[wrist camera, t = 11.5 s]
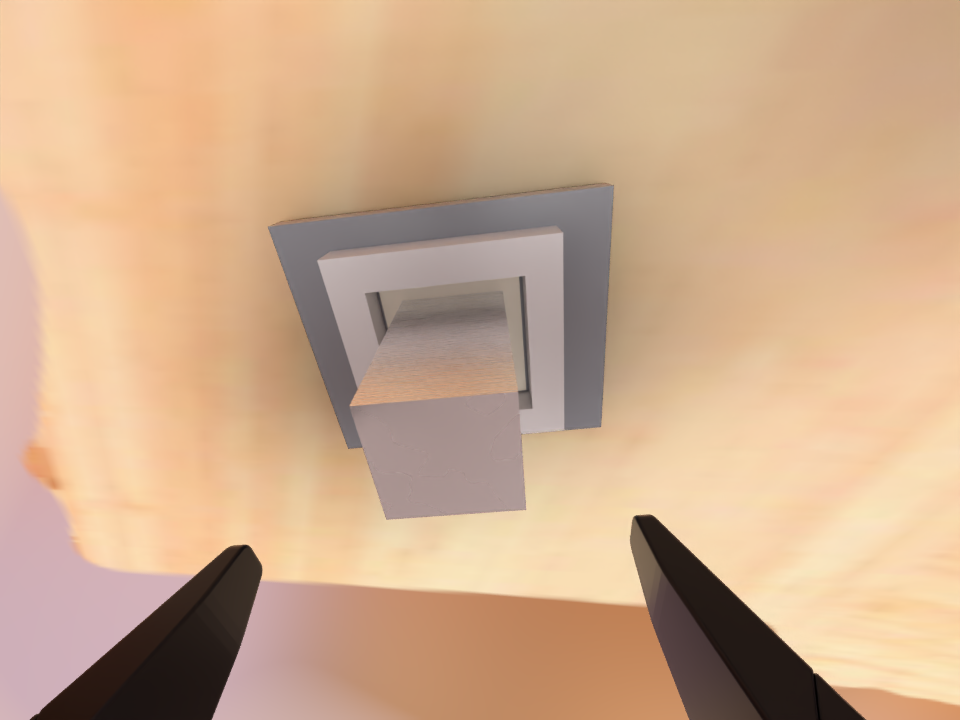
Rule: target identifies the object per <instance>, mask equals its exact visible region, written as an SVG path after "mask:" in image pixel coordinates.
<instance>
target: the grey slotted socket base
mask: <svg viewBox="0 0 960 720" xmlns="http://www.w3.org/2000/svg"><path fill="white" fill-rule="evenodd" d="M613 190H614V185H610V184H607V183H600V184H592V185H584V186H575V187H567V188H559V189H550V190H542V191H533V192H525V193H517V194H508V195H500V196H492V197H483V198H475V199H467V200H458V201H450V202H441V203H433V204H425V205H416V206H408V207H400V208H391V209H383V210H374V211H366V212H358V213H349V214H341V215H333V216H324V217H316V218H308V219H299V220H291V221H282V222H279V223H276V224H274V225H271V226H268V229H269V231H270V234H271V237H272V240H273V242H274V245H275V248H276V251H277V253H278V256H279V259H280V262H281V265H282V267H283V270H284V273H285V276H286V278H287V281H288V284H289V287H290V289H291V292H292V295H293V298H294V300H295V303H296V306H297V309H298V311H299V314H300V317H301V320H302V322H303V325H304V328H305V331H306V333H307V336H308V339H309V342H310V344H311V347H312V350H313V353H314V356H315V358H316V361H317V364H318V367H319V369H320V372H321V375H322V378H323V380H324V383H325V386H326V389H327V391H328V394H329V397H330V400H331V402H332V405H333V408H334V411H335V413H336V416H337V419H338V422H339V424H340V427H341V430H342V433H343V435H344V438H345V441H346V444H347V447H348V449H350V448H362V444H361V441H360V438H359V435H358V432H357V429H356V426H355V423H354V420H353V417H352V414H351V410H350V407H349V406H350V404H351V402H352V400H353V398H354V396H355V394H356V392H357V390H358V388H359V386H360V384H361V382H362V380H363V378H364V376H365V374H366V372H367V370H368V368H369V366H370V364H371V362H372V360H373V358H374V356H375V354H376V352H377V350H378V348H379V346H380V344H381V342H382V340H383V338H384V336H385V334H386V332H387V330H388V328H389V326H390V324H391V322H392V320H393V318H394V316H395V314H396V312H397V310H398V308H399V306H400V304H401V302H402V301H404V300H414V299H424V298H434V297H444V296H454V295H464V294H474V293H484V292H494V291H503V296H504V303H505V309H506V316H507V322H508V329H509V335H510V342H511V348H512V355H513V361H514V368H515V374H516V381H517V387H518V397H519V411H520V426H521V434H529V433H541V432H552V431H564V430H572V429H584V428H596V427H601V419H602V400H603V381H604V362H605V343H606V324H607V305H608V286H609V266H610V247H611V228H612V209H613Z"/></svg>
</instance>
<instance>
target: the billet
mask: <svg viewBox="0 0 960 720" xmlns="http://www.w3.org/2000/svg"><path fill="white" fill-rule="evenodd" d="M349 407H350V410H351V414H352V417H353V420H354V423H355V426H356V429H357V432H358V435H359V438H360V441H361V444H362V447H363V450H364V453H365V456H366V459H367V462H368V465H369V468H370V471H371V474H372V477H373V480H374V483H375V486H376V489H377V492H378V495H379V498H380V501H381V504H382V507H383V511H384V514H385V517H386V520H388V519H402V518H416V517H430V516H444V515H459V514H473V513H487V512H501V511H515V510H526V500H525V485H524V470H523V456H522V441H521V426H520V411H519V397H518V387H517V381H516V374H515V368H514V361H513V355H512V348H511V342H510V335H509V329H508V322H507V316H506V309H505V303H504V296H503V291H494V292H484V293H474V294H464V295H454V296H444V297H434V298H424V299H414V300H404V301H402V302H401V304H400V306H399V308H398V310H397V312H396V314H395V316H394V318H393V320H392V322H391V324H390V326H389V328H388V330H387V332H386V334H385V336H384V338H383V340H382V342H381V344H380V346H379V348H378V350H377V352H376V354H375V356H374V358H373V360H372V362H371V364H370V366H369V368H368V370H367V372H366V374H365V376H364V378H363V380H362V382H361V384H360V386H359V388H358V390H357V392H356V394H355V396H354V398H353V400H352V402H351V404H350V406H349Z"/></svg>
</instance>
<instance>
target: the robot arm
mask: <svg viewBox="0 0 960 720" xmlns="http://www.w3.org/2000/svg"><path fill="white" fill-rule="evenodd" d="M630 544H631V549H632V553H633V557H634V560H635V564H636V567H637V571H638V575H639V578H640V582H641V586H642V589H643V593H644V596H645V600H646V604H647V607H648V610H649V614H650V617H651V621H652V624H653V626H654V629H655V632H656V635H657V637H658V640H659V643H660V645H661V647H662V650H663V653H664V655H665V658H666V660H667V663H668V666H669V668H670V671H671V674H672V676H673V678H674V681H675V684H676V686H677V689H678V692H679V694H680V697H681V699H682V702H683V704H684V707H685V709H686V712H687V715H688V717H689V720H866V719H865V718H864V717H862V716H861V715H860V714H859V713H858V712H857V711H856V710H855V709H854V708H853V707H852V706H851V705H850V704H849V703H848V702H847V701H845V700H844V699H843V698H842V697H841V696H840V695H839V694H838V693H837V692H836V691H835V690H834V689H833V688H832V687H831V686H830V685H829V684H828V683H827V682H826V681H825V680H824V679H823V678H822V677H820V676H819V675H818V674H816V673H813V669H812V668H811V667H810V666H809V665H808V664H807V663H806V662H805V661H804V660H803V659H802V658H801V657H800V656H798V655H797V654H796V653H795V652H794V651H793V650H792V649H791V648H790V647H789V646H788V645H787V644H786V643H785V642H784V641H783V640H782V639H781V638H780V637H779V636H778V635H777V634H776V633H775V632H774V631H773V630H772V629H770V628H769V627H768V626H767V625H766V624H765V623H764V622H763V621H762V620H761V619H760V618H759V617H758V616H757V615H756V614H755V613H754V612H753V611H752V610H751V609H750V608H749V607H748V606H747V605H746V604H745V603H744V602H743V601H741V600H740V599H739V598H738V597H737V596H736V595H735V594H734V593H733V592H732V591H731V590H730V589H729V588H728V587H727V586H726V585H725V584H724V583H723V582H722V581H721V580H720V579H719V578H718V577H717V576H716V575H715V574H713V573H712V572H711V571H710V570H709V569H708V568H707V567H706V566H705V565H704V564H703V563H702V562H701V561H700V560H699V559H698V558H697V557H696V556H695V555H694V554H693V553H692V552H691V551H690V550H689V549H688V548H687V547H685V546H684V545H683V544H682V543H681V542H680V541H679V540H678V539H677V538H676V537H675V536H674V535H673V534H672V533H671V532H670V531H669V530H668V529H667V528H666V527H665V526H664V525H663V524H662V523H661V522H660V521H659V520H657V519H656V518H655V517H654V516H652V515H636V516H634V517H633V520H632V527H631V536H630ZM261 576H262V565H261V563H260V561H259V560H258V558H257V556H256V555H255V553H254V552H253V550H252V548H251V547H250V546H249V545H234V546H230V547H228V548H227V549H225V550H224V551H223V552H222V553H221V554H220V555H218V556H217V557H216V558H215V559H214V560H213V561H212V562H210V563H209V564H208V565H207V566H206V567H205V568H204V569H202V570H201V571H200V572H199V573H198V574H197V575H195V576H194V577H193V578H192V579H191V580H190V581H189V582H187V583H186V584H185V585H184V586H183V587H182V588H181V589H179V590H178V591H177V592H176V593H175V594H174V595H173V596H171V597H170V598H169V599H168V600H167V601H166V602H164V603H163V604H162V605H161V606H160V607H159V608H158V609H156V610H155V611H154V612H153V613H152V614H151V615H150V616H149V617H147V618H146V619H145V620H144V621H143V622H141V623H140V624H139V625H138V626H137V627H136V628H135V629H134V630H132V631H131V632H130V633H129V634H128V635H127V636H125V637H124V638H123V639H122V640H121V641H120V642H118V643H117V644H116V645H115V646H114V647H113V648H112V649H110V650H109V651H108V652H107V653H106V654H105V655H104V656H102V657H101V658H100V659H99V660H98V661H97V662H96V663H94V664H93V665H92V666H91V667H90V668H89V669H87V670H86V671H85V672H84V673H83V674H82V675H81V676H79V677H78V678H77V679H76V680H75V681H74V682H73V683H71V684H70V685H69V686H68V687H67V688H66V689H65V690H63V691H62V692H61V693H60V694H59V695H58V696H57V697H55V698H54V699H53V700H52V701H51V702H50V703H48V704H47V705H46V706H45V707H44V708H43V709H42V710H41V711H40V713H39V714H36V715H34V716H33V717H32V718H31V719H30V720H212V718H213V715H214V713H215V710H216V707H217V705H218V702H219V699H220V697H221V695H222V692H223V690H224V687H225V685H226V682H227V679H228V677H229V675H230V672H231V669H232V667H233V664H234V662H235V659H236V657H237V654H238V651H239V649H240V646H241V642H242V640H243V637H244V634H245V630H246V627H247V623H248V620H249V617H250V613H251V610H252V607H253V603H254V600H255V597H256V593H257V590H258V586H259V583H260V580H261Z"/></svg>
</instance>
